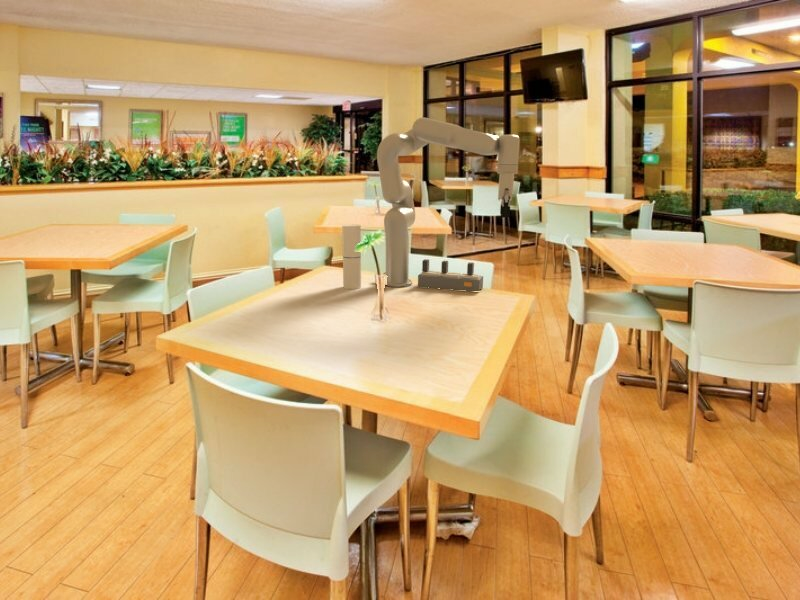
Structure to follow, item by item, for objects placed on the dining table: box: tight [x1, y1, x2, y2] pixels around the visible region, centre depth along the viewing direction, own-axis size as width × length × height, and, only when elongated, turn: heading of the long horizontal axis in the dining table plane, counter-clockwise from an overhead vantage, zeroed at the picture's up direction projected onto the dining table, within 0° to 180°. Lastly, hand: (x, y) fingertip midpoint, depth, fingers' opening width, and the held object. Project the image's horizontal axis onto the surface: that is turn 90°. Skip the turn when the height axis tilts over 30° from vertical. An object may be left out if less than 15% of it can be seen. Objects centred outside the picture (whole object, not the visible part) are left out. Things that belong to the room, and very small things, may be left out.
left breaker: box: [421, 259, 430, 272], centre depth 222 cm, size 2×3×4 cm, turn 162°
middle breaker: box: [440, 260, 449, 273], centre depth 219 cm, size 2×3×4 cm, turn 161°
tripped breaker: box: [466, 261, 475, 275], centre depth 216 cm, size 2×3×4 cm, turn 162°
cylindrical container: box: [341, 223, 362, 290], centre depth 217 cm, size 7×7×25 cm
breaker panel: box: [417, 270, 484, 292], centre depth 220 cm, size 25×8×6 cm, turn 72°
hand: (504, 216), depth 206 cm, fingers open, 9 cm apart
